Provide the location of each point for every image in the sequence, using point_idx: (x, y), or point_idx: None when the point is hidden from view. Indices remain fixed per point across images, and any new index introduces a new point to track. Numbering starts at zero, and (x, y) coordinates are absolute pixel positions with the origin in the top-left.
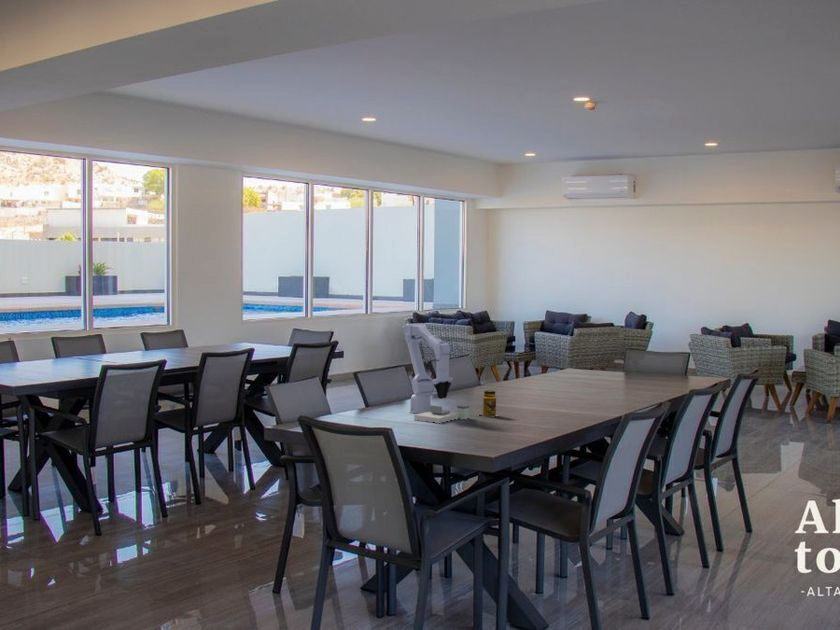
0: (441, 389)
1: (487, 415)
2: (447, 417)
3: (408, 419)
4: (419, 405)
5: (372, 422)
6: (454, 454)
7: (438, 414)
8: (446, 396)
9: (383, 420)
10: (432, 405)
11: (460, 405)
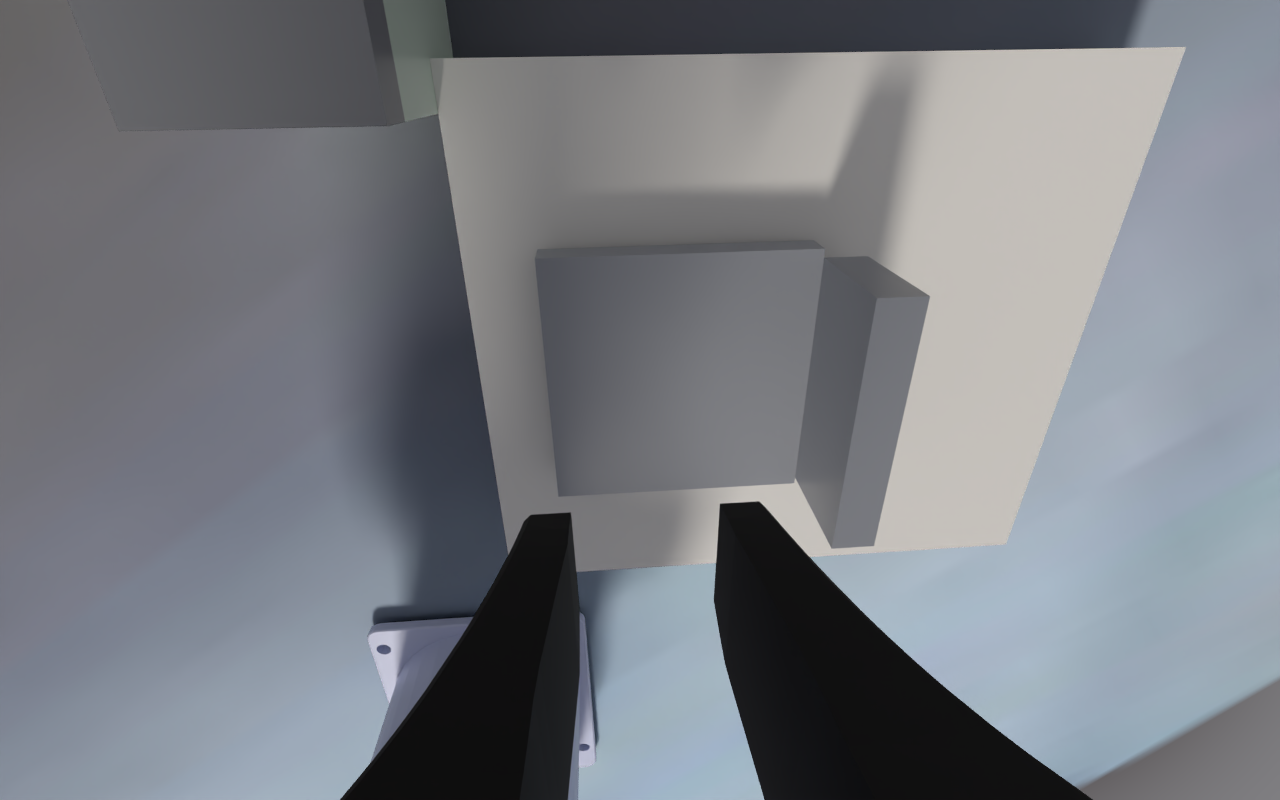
0: (1036, 795)
1: None
2: (877, 53)
3: (952, 561)
4: (577, 773)
5: (1259, 664)
6: None
7: None
8: (521, 536)
9: (1117, 667)
10: (841, 523)
11: (239, 97)
